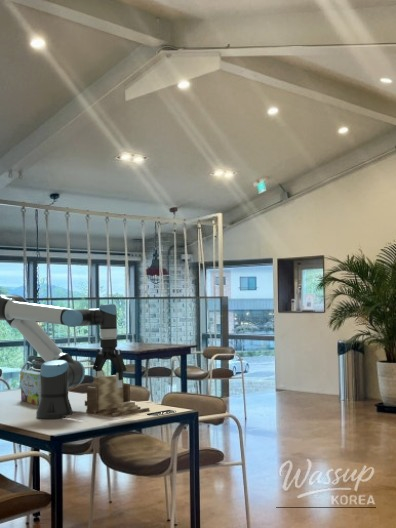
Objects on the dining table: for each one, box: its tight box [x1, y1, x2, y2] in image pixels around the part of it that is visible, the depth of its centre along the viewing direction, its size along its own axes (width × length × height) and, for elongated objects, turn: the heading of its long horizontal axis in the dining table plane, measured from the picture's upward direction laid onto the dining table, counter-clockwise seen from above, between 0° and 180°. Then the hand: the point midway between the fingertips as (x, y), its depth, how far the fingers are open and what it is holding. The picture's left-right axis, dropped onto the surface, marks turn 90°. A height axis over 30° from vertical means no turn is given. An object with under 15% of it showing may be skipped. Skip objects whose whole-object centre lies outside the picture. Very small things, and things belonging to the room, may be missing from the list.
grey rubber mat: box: [146, 409, 175, 416], centre depth 288 cm, size 14×11×1 cm
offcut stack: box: [116, 400, 139, 413], centre depth 282 cm, size 9×4×4 cm, turn 137°
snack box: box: [20, 369, 41, 406], centre depth 327 cm, size 21×6×15 cm, turn 37°
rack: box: [84, 382, 151, 418], centre depth 286 cm, size 22×19×12 cm
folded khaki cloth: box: [93, 374, 124, 410], centre depth 291 cm, size 14×3×15 cm, turn 137°
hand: (109, 386), depth 291 cm, fingers open, 13 cm apart
